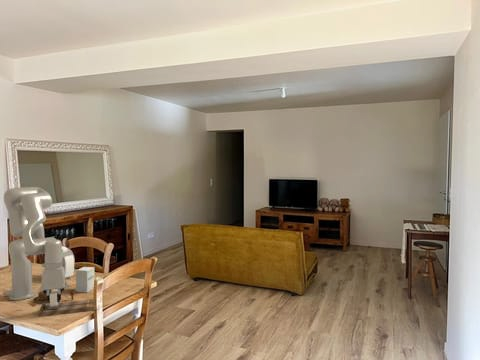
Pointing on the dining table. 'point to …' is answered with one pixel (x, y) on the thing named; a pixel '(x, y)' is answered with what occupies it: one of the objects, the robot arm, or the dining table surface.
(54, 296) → the fader knob
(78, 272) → the supplement box
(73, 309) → the fader panel
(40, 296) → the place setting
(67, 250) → the alarm clock
